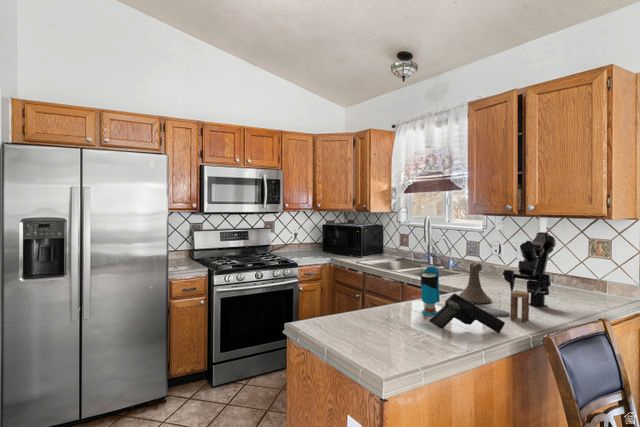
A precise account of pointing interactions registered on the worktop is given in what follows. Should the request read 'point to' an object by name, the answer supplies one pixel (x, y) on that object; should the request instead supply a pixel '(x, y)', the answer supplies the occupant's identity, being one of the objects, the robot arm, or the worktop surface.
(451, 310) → the handgun
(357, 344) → the worktop surface
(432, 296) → the security camera
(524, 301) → the stool
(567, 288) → the worktop surface
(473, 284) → the sculpture
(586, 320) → the worktop surface
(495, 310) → the mat
